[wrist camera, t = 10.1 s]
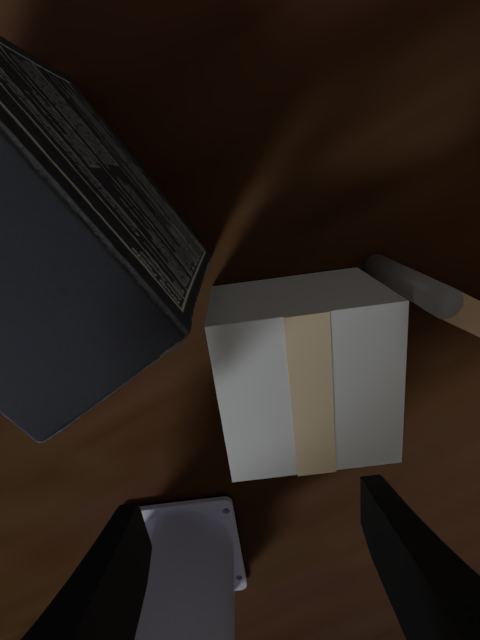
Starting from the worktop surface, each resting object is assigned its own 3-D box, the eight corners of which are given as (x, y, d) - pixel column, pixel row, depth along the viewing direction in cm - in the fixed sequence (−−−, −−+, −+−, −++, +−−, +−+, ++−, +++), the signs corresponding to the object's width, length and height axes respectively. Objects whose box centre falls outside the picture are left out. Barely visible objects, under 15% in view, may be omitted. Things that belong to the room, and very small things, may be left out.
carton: (358, 391, 22) (402, 463, 16) (231, 407, 22) (232, 484, 17) (356, 267, 19) (410, 301, 13) (212, 286, 19) (204, 328, 14)
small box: (-26, 166, 17) (-375, 139, 7) (67, 70, 16) (-202, -122, 6) (127, 326, 20) (30, 458, 10) (216, 256, 19) (200, 333, 9)
